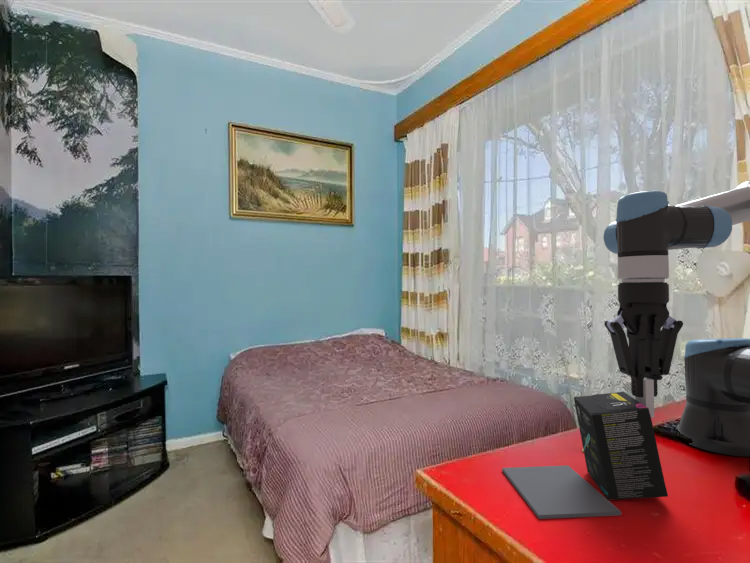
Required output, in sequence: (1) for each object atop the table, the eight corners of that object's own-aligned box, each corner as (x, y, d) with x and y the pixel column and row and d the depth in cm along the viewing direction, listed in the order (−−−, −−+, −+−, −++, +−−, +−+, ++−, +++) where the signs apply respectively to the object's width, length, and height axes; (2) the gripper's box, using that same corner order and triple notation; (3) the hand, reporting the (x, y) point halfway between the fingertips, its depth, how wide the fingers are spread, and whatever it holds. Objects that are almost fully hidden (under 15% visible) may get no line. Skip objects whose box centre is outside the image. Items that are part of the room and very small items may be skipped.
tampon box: (669, 498, 65) (651, 407, 65) (607, 502, 67) (590, 413, 67) (639, 467, 76) (624, 389, 76) (586, 471, 78) (572, 395, 78)
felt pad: (568, 468, 79) (568, 465, 79) (621, 515, 63) (621, 511, 63) (502, 470, 78) (502, 467, 78) (539, 519, 62) (538, 515, 62)
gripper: (662, 280, 75) (664, 407, 75) (594, 281, 75) (596, 409, 75) (695, 280, 68) (698, 421, 68) (620, 281, 67) (622, 423, 67)
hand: (644, 414), depth 71 cm, fingers closed
